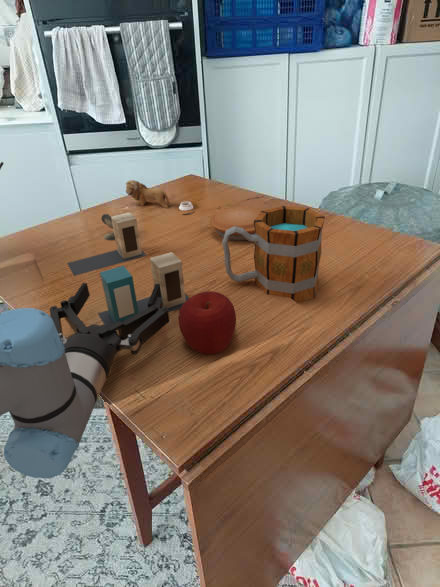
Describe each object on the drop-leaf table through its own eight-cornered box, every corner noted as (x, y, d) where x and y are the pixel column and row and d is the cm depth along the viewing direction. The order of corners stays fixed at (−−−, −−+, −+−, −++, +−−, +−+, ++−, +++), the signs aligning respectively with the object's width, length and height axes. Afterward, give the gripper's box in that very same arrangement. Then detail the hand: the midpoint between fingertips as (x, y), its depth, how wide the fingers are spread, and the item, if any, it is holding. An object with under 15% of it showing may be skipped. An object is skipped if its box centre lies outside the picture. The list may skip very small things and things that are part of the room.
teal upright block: (108, 313, 81) (99, 272, 76) (131, 306, 82) (123, 265, 78) (116, 326, 77) (107, 283, 72) (140, 318, 79) (132, 276, 74)
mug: (311, 268, 95) (316, 204, 86) (327, 302, 83) (334, 232, 75) (222, 274, 94) (219, 209, 86) (226, 309, 83) (223, 238, 75)
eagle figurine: (136, 227, 115) (103, 222, 114) (134, 212, 108) (98, 206, 108) (130, 252, 111) (96, 246, 111) (127, 238, 105) (91, 232, 105)
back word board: (68, 268, 99) (66, 262, 99) (137, 249, 106) (136, 244, 105) (75, 281, 94) (74, 275, 93) (147, 261, 101) (146, 255, 100)
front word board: (99, 319, 82) (97, 313, 81) (180, 293, 88) (179, 287, 88) (110, 339, 76) (108, 332, 76) (195, 309, 83) (194, 303, 82)
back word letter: (117, 251, 102) (110, 216, 97) (135, 247, 104) (129, 212, 99) (123, 259, 99) (117, 223, 94) (142, 254, 101) (136, 218, 96)
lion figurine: (126, 212, 127) (121, 183, 122) (132, 206, 131) (127, 177, 126) (174, 214, 124) (171, 184, 120) (178, 207, 129) (176, 177, 124)
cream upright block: (155, 298, 84) (149, 258, 80) (176, 291, 86) (171, 251, 81) (164, 309, 81) (159, 268, 76) (186, 302, 83) (182, 261, 78)
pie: (278, 239, 107) (279, 221, 105) (218, 248, 105) (217, 230, 102) (258, 217, 120) (259, 199, 117) (205, 224, 117) (203, 207, 115)
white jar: (193, 216, 122) (196, 209, 126) (192, 206, 121) (196, 200, 125) (176, 216, 123) (180, 209, 127) (175, 206, 122) (179, 199, 126)
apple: (170, 354, 72) (164, 306, 67) (202, 324, 79) (198, 278, 74) (218, 373, 68) (215, 323, 62) (247, 340, 75) (246, 292, 69)
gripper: (6, 386, 64) (61, 305, 82) (170, 391, 62) (190, 307, 79) (-11, 347, 60) (51, 271, 78) (164, 351, 58) (187, 272, 75)
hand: (122, 289), depth 79 cm, fingers open, 13 cm apart
